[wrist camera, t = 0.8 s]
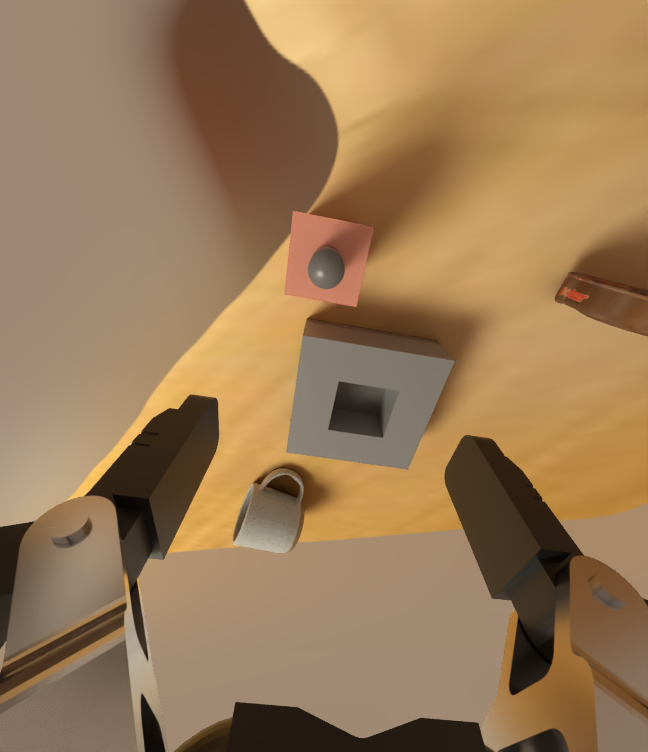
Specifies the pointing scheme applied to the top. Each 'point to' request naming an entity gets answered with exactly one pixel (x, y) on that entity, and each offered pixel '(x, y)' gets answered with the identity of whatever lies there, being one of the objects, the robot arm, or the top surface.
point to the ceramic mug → (270, 516)
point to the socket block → (364, 393)
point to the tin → (606, 301)
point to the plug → (327, 258)
